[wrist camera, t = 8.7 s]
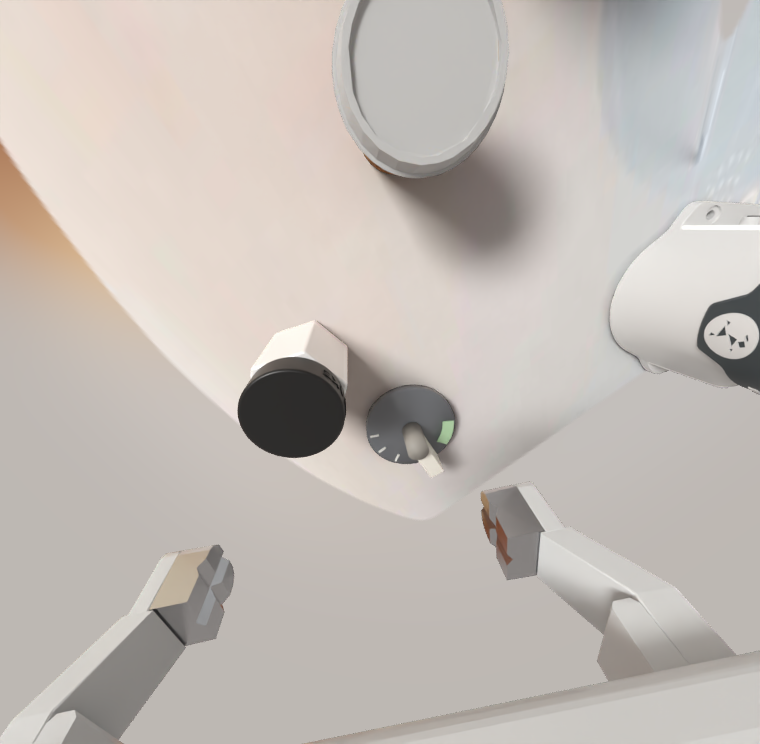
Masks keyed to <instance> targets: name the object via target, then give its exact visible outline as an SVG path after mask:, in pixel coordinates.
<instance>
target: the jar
mask: <svg viewBox="0 0 760 744" xmlns="http://www.w3.org/2000/svg"><path fill="white" fill-rule="evenodd" d="M347 385H348V347H347V345H345V344H344V343H343V342H342V341H340V340H339V339H338V338H337V337H335V336H334V335H333V334H332V333H331V332H329V331H328V330H327V329H326V328H324V327H323V326H322V325H321V324H319V323H318V322H317V321H315V320H314V321H311V322H308V323H305V324H302V325H298V326H295V327H292V328H289V329H286V330H283V331H280V332H277V333H275V334H274V336H273V337H272V339H271V340H270V342H269V343H268V345H267V346H266V348H265V349H264V350H263V352H262V353H261V355H260V356H259V358H258V359H257V361H256V362H255V364H254V365H253V366H252V368H251V375H250V381H249V383H248V384H247V386H246V387H245V389H244V391H243V392H242V394H241V396H240V399H239V403H238V419H239V422H240V425H241V427H242V429H243V431H244V433H245V434H246V436H247V437H248V438H249V439H250V440H251V441H252V442H253V443H254V444H255V445H257V446H258V447H259V448H261V449H263V450H264V451H266V452H269V453H271V454H274V455H277V456H282V457H288V458H300V457H307V456H311V455H314V454H317V453H319V452H321V451H323V450H325V449H326V448H328V447H329V446H330V445H331V444H332V443H333V442H334V441H335V440H336V439H337V438H338V436H339V435H340V433H341V431H342V428H343V425H344V421H345V416H346V399H345V395H346V390H347Z"/></svg>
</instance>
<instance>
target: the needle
mask: <svg viewBox="0 0 760 744" xmlns="http://www.w3.org/2000/svg"><path fill="white" fill-rule="evenodd" d="M402 434H403V438H404V441H405V445H406V449H407V453H408V456H409V457H410V458H411V459H413V460H418V461H419V463H420V464H421V465H422V467H423V468H424V469H425V471H426V472H427V473H428V475H429V476H430V477H431V478H432V477H434V476H436V475H438V474H440V473H442V472H444V470H443V467H442V465H441V462H440V460H439V457H438V455H437V453H436V452H435V450H434V449H433V448H432V446H431V445H430V443H429V442H428V440H427V439H426V437H425V436H424V434H423V431H422V429H421V426H420V425H419V424H418V423H415V422H410V423H407V424H406V425H405V426H404V427H403V429H402Z"/></svg>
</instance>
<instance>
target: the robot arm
mask: <svg viewBox="0 0 760 744" xmlns="http://www.w3.org/2000/svg"><path fill="white" fill-rule="evenodd" d="M610 327H611V331H612V334H613V337H614V339H615V340H616V342H617V343H618V344H619V346H620V347H622V348H623V349H624V350H626V351H627V352H629V353H631V354H633V355H635V356H636V357H638V358H639V360H640V362H641V364H642V366H643V367H644V369H645V370H646V371H649V372H652V373H654V374H659V373H663V372H666V371H669V370H670V371H672V372H675V373H678V374H681V375H684V376H686V377H689V378H692V379H695V380H698V381H701V382H703V383H706V384H709V385H712V386H716V387H719V388H728V387H730V386H737V385H740V386H742V387H745V388H747V389H750V390H753V391H752V392H755V393H757V394H760V204H747V203H731V202H715V201H694V202H692V203H690V204H689V205H687V206H686V207H685V208H684V209H683V211H682V212H681V213H680V214H679V216H678V217H677V218H676V220H675V221H674V222H673V224H672V225H671V226H670V228H669V229H668V230H667V231H666V232H665V233H664V234H663V235H662V236H661V237H660V238H658V239H657V240H656V241H655V242H653V243H652V244H651V245H650V246H648V247H647V248H646V249H645V250H644V251H643V252H642V253H641V254H640V255H639V256H638V257H637V258H636V259H635V260H634V261H633V263H632V264H631V265H630V266H629V268H628V269H627V270H626V272H625V273H624V275H623V277H622V278H621V280H620V282H619V284H618V286H617V288H616V291H615V293H614V296H613V299H612V303H611V308H610ZM481 501H482V504H483V506H484V507H483V509H482V510H481V513H482V521H483V525H484V529H485V532H486V534H487V537H488V539H489V541H490V543H491V544H492V545H494V546H495V547H496V553H497V559H498V561H499V564H500V566H501V568H502V570H503V573H504V575H505V577H506V579H507V580H511V579H517V578H523V577H529V576H534V575H537V577H538V578H539V579H540V580H541V581H542V582H543V583H545V584H546V585H547V586H548V587H549V588H550V589H551V590H553V591H554V592H555V593H556V594H557V595H558V596H560V597H561V598H562V599H563V600H564V601H565V602H567V603H568V604H569V605H570V606H571V607H572V608H573V609H575V610H576V611H577V612H578V613H579V614H580V615H582V616H583V617H584V618H585V619H586V620H587V621H588V622H590V623H591V624H592V625H593V626H594V627H596V629H598V630H599V631H600V632H601V633H602V634H603V635H604V636H603V640H602V644H601V648H600V652H599V656H598V659H597V662H598V663H599V665H600V667H601V669H602V670H603V672H604V674H605V676H606V678H607V679H608V682H603V683H598V684H593V685H588V686H584V687H579V688H574V689H569V690H564V691H559V692H554V693H549V694H544V695H540V696H534V697H530V698H525V699H520V700H515V701H510V702H505V703H500V704H495V705H490V706H485V707H481V708H476V709H471V710H466V711H461V712H456V713H451V714H446V715H442V716H436V717H432V718H427V719H422V720H417V721H412V722H407V723H402V724H398V725H393V726H387V727H382V728H378V729H373V730H368V731H363V732H358V733H353V734H348V735H343V736H338V737H334V738H328V739H324V740H319V741H314V742H309V743H304V744H760V651H755V652H750V653H745V654H740V655H736V654H735V653H734V652H733V651H732V649H731V648H730V647H729V646H728V645H727V644H726V643H725V642H724V641H723V639H722V638H721V637H720V636H719V635H718V634H717V633H716V632H715V631H714V630H713V628H711V626H710V625H709V624H708V623H707V622H706V621H705V620H704V619H703V617H701V615H700V614H699V613H698V612H697V611H696V610H695V609H694V607H693V606H692V605H691V604H690V603H689V602H688V601H687V600H686V599H685V597H684V596H683V595H682V594H681V593H680V592H679V591H678V590H677V589H676V588H675V587H674V586H672V585H670V584H669V583H667V582H665V581H664V580H662V579H660V578H658V577H657V576H655V575H653V574H651V573H650V572H648V571H646V570H645V569H643V568H641V567H639V566H638V565H636V564H634V563H633V562H631V561H629V560H627V559H626V558H624V557H622V556H620V555H619V554H617V553H615V552H614V551H612V550H610V549H608V548H607V547H605V546H603V545H601V544H600V543H598V542H596V541H594V540H593V539H591V538H589V537H588V536H586V535H584V534H582V533H581V532H579V531H577V530H575V529H574V528H572V527H565V526H564V525H563V524H562V522H561V521H560V520H559V518H558V517H557V516H556V514H555V513H554V511H553V510H552V509H551V507H550V506H549V504H548V503H547V502H546V500H545V499H544V498H543V496H542V495H541V493H540V492H539V491H538V489H537V488H536V487H535V485H534V484H533V483H532V482H525V483H520V484H516V485H509V486H504V487H499V488H495V489H490V490H485V491H482V492H481ZM223 552H224V551H223V550H222V548H221V547H220V545H212V546H206V547H200V548H194V549H188V550H183V551H178V552H172V553H167V554H166V555H164V556H163V557H162V558H161V559H160V561H159V562H158V564H157V566H156V567H155V569H154V571H153V573H152V574H151V576H150V578H149V580H148V581H147V583H146V585H145V587H144V589H143V590H142V592H141V594H140V596H139V597H138V599H137V601H136V602H135V604H134V606H133V608H132V609H131V611H130V613H129V615H126V616H123V617H121V618H120V619H119V620H118V621H117V622H116V623H115V624H114V625H113V626H112V627H111V628H110V629H109V630H108V631H107V632H106V633H104V634H103V635H102V636H101V637H100V638H99V639H98V640H97V641H96V642H95V643H94V644H93V645H92V646H91V647H89V648H88V650H86V651H85V652H84V653H83V654H82V655H81V656H80V657H79V658H78V659H77V660H76V661H75V662H74V663H72V664H71V665H70V666H69V667H68V668H67V669H66V670H65V671H64V672H63V673H62V674H61V675H60V676H59V677H58V678H57V679H55V680H54V681H53V682H52V683H51V684H50V685H49V686H48V687H47V688H46V689H45V690H44V691H43V692H42V693H40V695H38V696H37V697H36V698H35V699H34V700H33V701H32V702H31V703H30V704H29V705H28V706H27V707H26V708H25V709H24V710H22V711H21V712H20V713H19V714H18V715H17V716H16V717H15V718H14V719H13V720H12V721H11V722H10V724H9V725H8V727H7V728H6V730H5V731H4V733H3V734H2V736H1V737H0V744H123V743H122V742H120V741H119V738H120V737H121V736H122V734H123V733H124V731H125V730H126V729H127V727H128V726H129V725H130V723H131V722H132V721H133V719H134V718H135V716H136V715H137V714H138V712H139V711H140V710H141V708H142V707H143V705H144V704H145V703H146V701H147V700H148V699H149V697H150V696H151V695H152V693H153V692H154V691H155V689H156V688H157V686H158V685H159V684H160V682H161V681H162V680H163V678H164V677H165V675H166V674H167V673H168V671H169V670H170V669H171V667H172V666H173V665H174V663H175V662H176V660H177V659H178V658H179V656H180V655H181V654H182V652H183V651H184V650H185V648H186V647H185V646H187V645H191V644H195V643H200V642H204V641H209V640H213V639H216V636H217V633H218V630H219V627H220V624H221V621H222V618H223V615H224V609H223V606H222V604H223V603H224V602H225V600H226V599H227V598H228V597H229V596H230V593H231V590H232V587H233V581H234V571H233V566H232V564H231V563H230V561H229V560H227V559H225V558H223V557H222V554H223Z"/></svg>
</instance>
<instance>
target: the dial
mask: <svg viewBox="0 0 760 744" xmlns="http://www.w3.org/2000/svg"><path fill="white" fill-rule="evenodd" d="M410 422H415V423H418V424H419V425H420V426H421V429H422V431H423V434H424V436H425V437H426V439H427V440H428V442H429V443H430V445H431V446H432V448H433V449H434V450H435V452H436V453H437V454H438V453H439V452H440V451H442V450H443V449H444V448H445V446H446V445H447V444H448V443H449V441H450V439H451V437H452V435H453V432H454V428H455V417H454V413H453V411H452V409H451V407H450V405H449V403H448V402H447V400H446V399H445V398H444V397H443V396H442V395H441V394H440V393H439V392H437V391H436V390H434V389H432V388H429V387H426V386H422V385H405V386H401V387H397V388H395V389H392V390H390V391H388V392H386V393H385V394H383V395H382V396H381V397H380V398H379V399H378V400H377V401H376V402H375V403H374V404H373V406H372V407H371V409H370V411H369V413H368V416H367V421H366V430H367V438H368V441H369V443H370V445H371V447H372V448H373V450H374V451H375V452H376V453H377V454H378V455H379V456H381V457H382V458H384V459H386V460H388V461H391V462H394V463H399V464H412V463H418V462H419V461H418V460H413V459H411V458H410V457H409V456H408V453H407V449H406V445H405V441H404V438H403V434H402V429H403V427H404V426H405V425H406V424H407V423H410Z"/></svg>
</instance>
